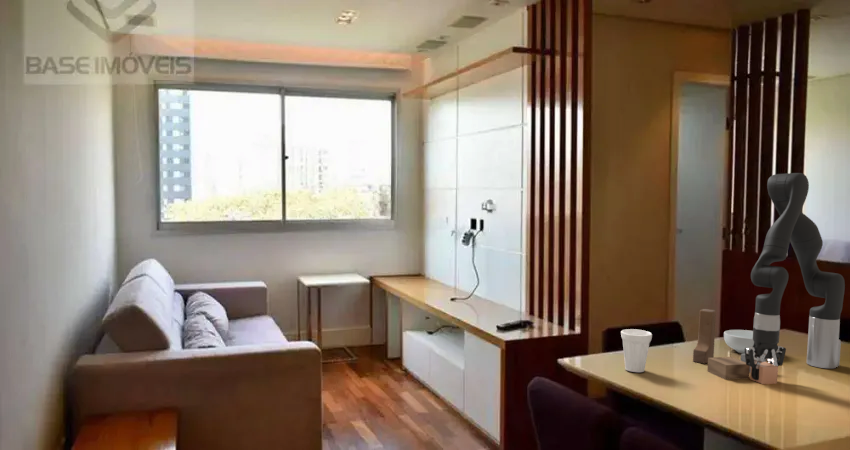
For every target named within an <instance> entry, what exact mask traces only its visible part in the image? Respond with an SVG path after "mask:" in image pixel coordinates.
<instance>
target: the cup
mask: <svg viewBox="0 0 850 450" xmlns="http://www.w3.org/2000/svg"><path fill="white" fill-rule="evenodd" d="M620 335H621V336H620V337H621V339H622V347H623V348H622V349H623V358H624V369H625V370H626V371H628V372H633V373H644V372H645V369H646V363H647V358H648V352H649V348H650V347H649V346H650V344H651V341H652V338H653V334H652V332H650V331H648V330H647V331H646V330H644V329H643V330H642V329H636V328H635V329H634V328H630V329H629V328H628V329H627V328H626V329H622V330H621V331H620Z"/></svg>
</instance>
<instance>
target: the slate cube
mask: <svg viewBox="0 0 850 450" xmlns="http://www.w3.org/2000/svg"><path fill="white" fill-rule="evenodd" d="M753 355H754V354H753ZM757 358H758V357H757ZM758 359H759V358H758ZM740 360H741V361H743V362H746V359H745V353H744V354H742V353H740ZM763 362H767V359H764V360H763ZM750 372H751V366H750ZM750 372H749V373H750Z"/></svg>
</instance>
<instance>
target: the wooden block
mask: <svg viewBox="0 0 850 450" xmlns="http://www.w3.org/2000/svg"><path fill="white" fill-rule="evenodd" d="M716 317H717V311H716V310H715V309H708V308H702V309H700V310H699V317H698V319H699V320H698V334H697V335H698V338H697V343H696V346H695V347H694V348H693V350H692V351H693V353H692V361H693V363H694V362H695V363H700V364H705V365H706V364H708V358H713V357H714V355H715V337H716V322H717V321H716Z"/></svg>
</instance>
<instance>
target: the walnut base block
mask: <svg viewBox="0 0 850 450" xmlns="http://www.w3.org/2000/svg"><path fill="white" fill-rule="evenodd" d="M706 372H707V373H710V374H712V375H714V376H717V377H719V378H721V379H723V380H741V379H742V380H743V379H750V366H748V365H746V362H743V361H741V359H738V358H736V357H733V356H718V357H717V356H715V357H713V358H708V362H707V370H706Z"/></svg>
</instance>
